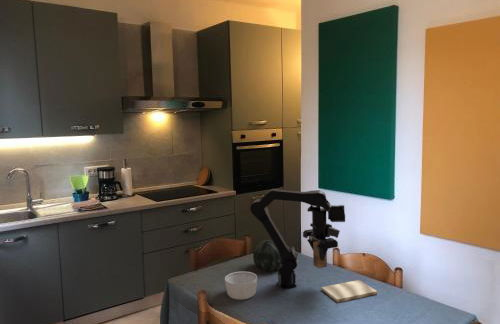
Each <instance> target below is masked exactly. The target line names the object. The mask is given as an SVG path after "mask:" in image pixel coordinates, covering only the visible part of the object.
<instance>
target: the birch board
mask: <svg viewBox="0 0 500 324" xmlns="http://www.w3.org/2000/svg"><path fill="white" fill-rule="evenodd" d="M321 291H322V292H323V293H324V294H326V295H327V296H329V297H330V298H331V299H333V300H334V301H335V302H337V303H341V302H347V301H351V300H356V299H360V298H365V297H369V296H374V295H378V290H376V289H375V288H373V287H371V286H369V285H368V284H366V283H365V282H363V281H361V280H360V279H357V280H352V281H346V282H342V283H337V284H331V285H326V286H322V287H321Z"/></svg>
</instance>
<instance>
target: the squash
mask: <svg viewBox="0 0 500 324" xmlns="http://www.w3.org/2000/svg"><path fill="white" fill-rule="evenodd" d="M252 254H253V256H252V258H253V259H252V261H253V263H254V264H255V266H256V267H258V268H259V269H262V270H263V271H265V272H266V271H268V270H269V271H270V272H272V271H274V270H278V269H279V266H280V262H281V257H280V253H279V251H278V249H277V247H276V246H275V244H274V242H273V241H272V239H266V240H263V241H261V242H260V243H258V244H257V245H256V246H255V247H254V249H253V252H252Z"/></svg>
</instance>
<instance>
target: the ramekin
mask: <svg viewBox="0 0 500 324" xmlns="http://www.w3.org/2000/svg"><path fill="white" fill-rule="evenodd" d="M224 284H225V288H226V293H227V296H229V298H231V299H233V300H241V301H243V300H247V299H250V298H253V297H254V296H255V295H256V292H257V288H258V287H257V284H258V275H257V274H256V273H254V272H251V271H235V272H232V273H228V275H227V274H226V276H224Z"/></svg>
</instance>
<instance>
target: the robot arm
mask: <svg viewBox="0 0 500 324" xmlns="http://www.w3.org/2000/svg"><path fill="white" fill-rule="evenodd" d="M275 200H276V201H277V200H279V201H288V202H296V203H297V202H300V203H305V204H307V205H309V207H308V208H307V212H311V220H312V221H311V223H309V224H310V227H312V229H311V228H310V229H304V230H303V232H302V237H303V238H304V239H307V242H308V244H309V245H310V247H311V250H312V251H313V242H314V241H320V245H317V249H318V252H319V255H320V258H321V260H322V261H323V260H324V259H325V256H326V253H327V252H328V250H329V249H335V248H338V247H339V243H338V241H337V239H339V235H340V232H341V230H339V229H337V228H335V227H332V226H333V225H332V224H330V223H327V219H328V220H329V221H330V222H331V223H345V222H346V212H345V204H338V205H334V204H333V205H331V203H330V201H329V200H328V199H327V195H326V193H325V192H324V191H323V190H321V189H317V190H309V191H308V190H307V191H297V190H285V189H276V188H272V189H270V190H269V191H268V192H267V193H266V194H264V195H263V196H262V197H261V198H257V199H255V200H254V201H253V202H252V203H251V205H250V209H249V210H250V213H251V214H252V215H253V216H254V218H255V219H256V220H258V221H259V222H260V223H261V224H262V225H263V227H264V229H265V231H266V232H267V234H268V236H269V238H270V240H271V241H273V242H274V244H275V246H276V247H277V249H278V251H279V253H280V257H281V262H280V266H279V269H277V280H278V281H277V282H276V284H277V285H278V287H279V288H281V289H282V290H286V289H292V288H296V287H297V283H296V282H297V280H296V279H297V278H296V277H297V276H296V274H295V269H297V267H298V263H299V253H298V252H297V251H296V250H295V247H294V246H292V247H290V246H289V245H287V243H286V241H285V240H284V238H283V236H282V234H281V233H280V231H279V229H278V228H277V226H276V224H275V222H274V221H273V219H272V217H271V215H270V211H269V208H268V206H269V205H270V204H271V203H272V202H274V201H275ZM332 237H334V238H332ZM335 238H337V239H335ZM327 254H328V253H327Z"/></svg>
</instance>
